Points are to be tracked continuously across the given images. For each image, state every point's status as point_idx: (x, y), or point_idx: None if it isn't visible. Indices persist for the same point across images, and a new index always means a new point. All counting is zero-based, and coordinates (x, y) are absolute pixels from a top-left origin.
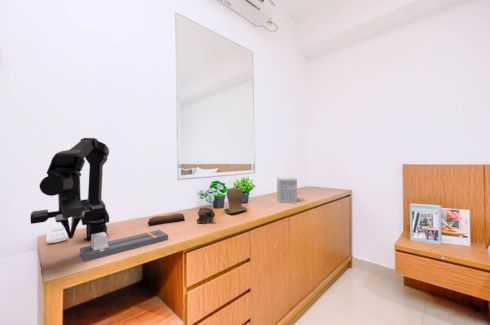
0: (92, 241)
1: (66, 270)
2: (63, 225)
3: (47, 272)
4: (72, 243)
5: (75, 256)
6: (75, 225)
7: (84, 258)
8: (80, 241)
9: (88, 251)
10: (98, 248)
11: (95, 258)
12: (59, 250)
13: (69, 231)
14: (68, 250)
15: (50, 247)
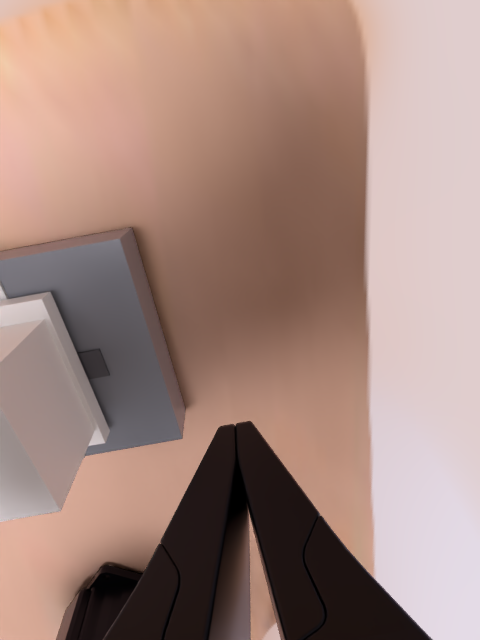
0: (56, 414)
1: (241, 109)
2: (405, 624)
3: (361, 164)
4: None
5: (209, 372)
6: (156, 608)
7: (125, 234)
8: None
9: (103, 323)
10: (5, 304)
11: (54, 241)
12: None
13: (258, 492)
14: None
15: None
